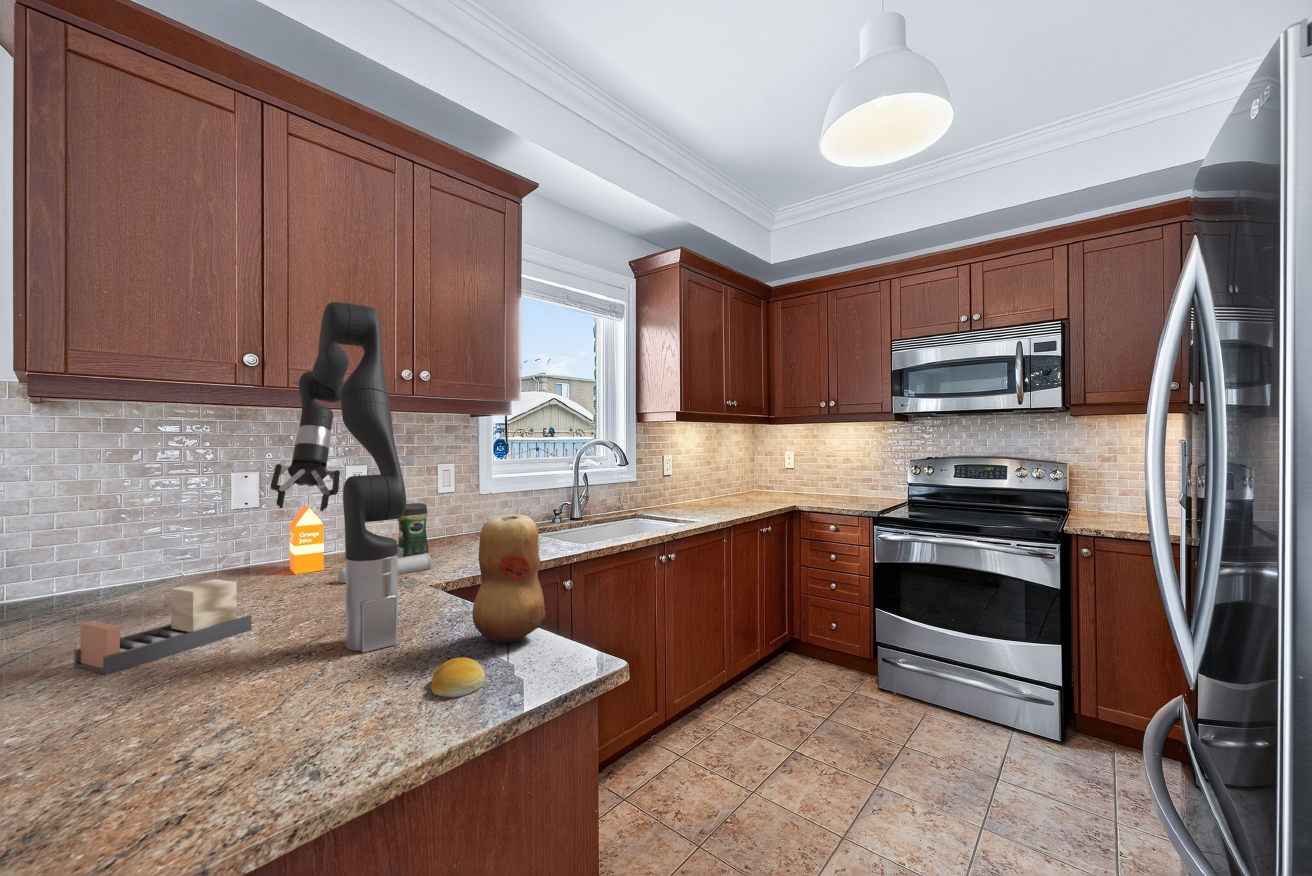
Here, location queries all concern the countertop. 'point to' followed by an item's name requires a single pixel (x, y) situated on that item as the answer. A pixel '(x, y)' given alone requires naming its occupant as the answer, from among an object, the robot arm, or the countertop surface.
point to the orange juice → (306, 542)
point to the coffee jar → (413, 531)
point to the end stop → (98, 642)
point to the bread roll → (457, 677)
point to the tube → (403, 565)
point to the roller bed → (162, 644)
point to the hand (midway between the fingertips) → (301, 509)
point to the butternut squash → (509, 579)
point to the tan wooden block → (203, 604)
